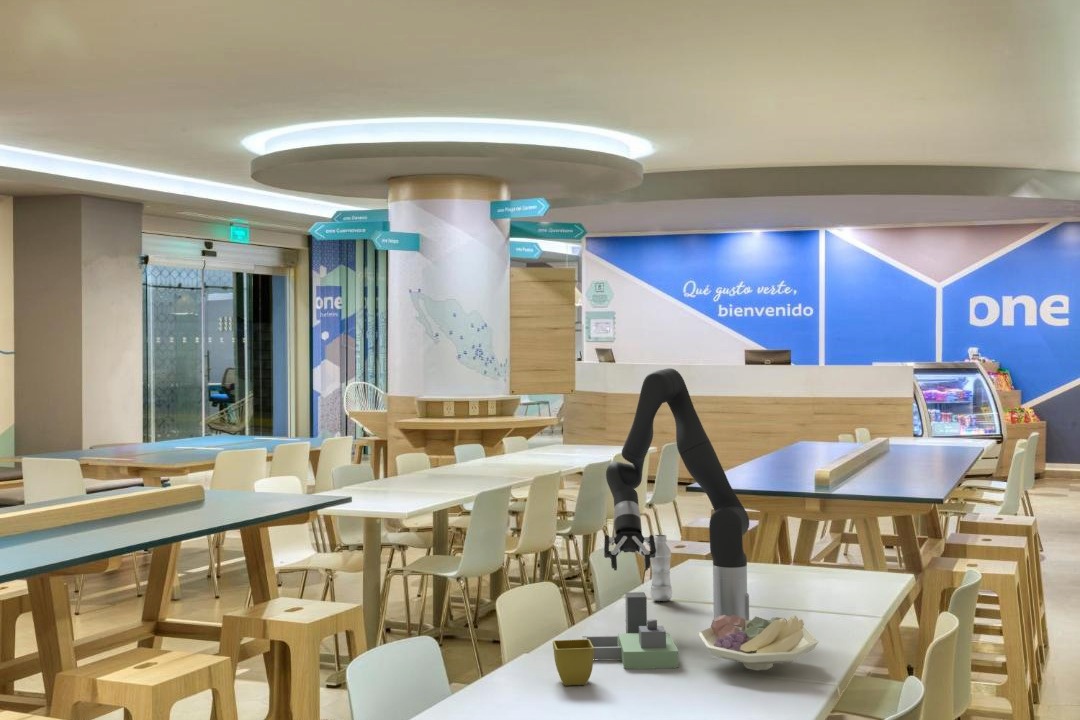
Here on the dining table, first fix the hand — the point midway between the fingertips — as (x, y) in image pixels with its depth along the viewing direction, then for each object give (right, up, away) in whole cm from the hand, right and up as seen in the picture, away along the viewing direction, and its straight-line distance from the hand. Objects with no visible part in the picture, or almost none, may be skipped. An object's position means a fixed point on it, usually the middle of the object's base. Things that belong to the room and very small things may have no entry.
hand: (631, 568), depth 309 cm
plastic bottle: (+12, -17, +35) cm, 41 cm away
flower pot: (-17, -17, -50) cm, 56 cm away
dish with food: (+27, -16, -39) cm, 50 cm away
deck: (-3, -17, -29) cm, 33 cm away
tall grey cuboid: (0, -17, -12) cm, 20 cm away
